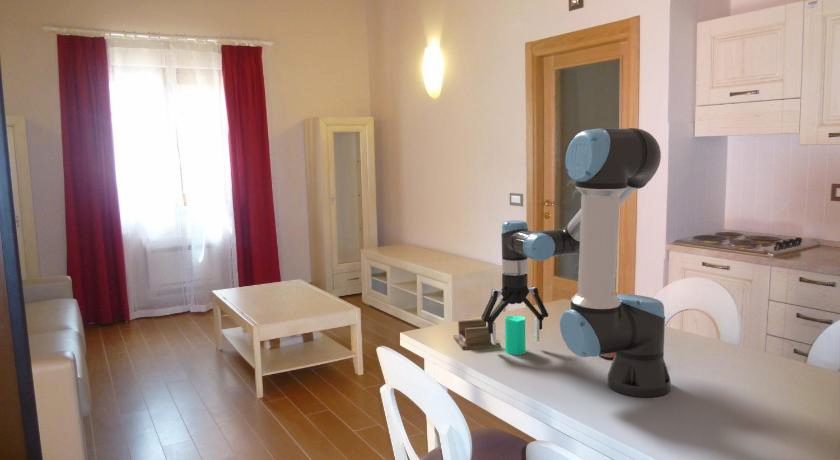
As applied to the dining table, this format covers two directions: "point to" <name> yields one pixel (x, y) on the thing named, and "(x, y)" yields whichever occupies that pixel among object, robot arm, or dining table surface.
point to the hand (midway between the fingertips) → (515, 341)
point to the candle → (515, 334)
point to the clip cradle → (473, 335)
